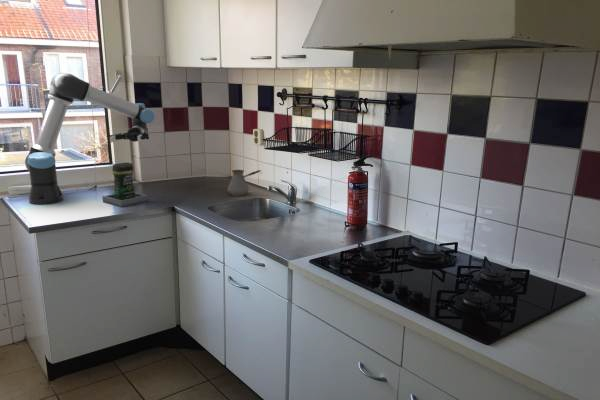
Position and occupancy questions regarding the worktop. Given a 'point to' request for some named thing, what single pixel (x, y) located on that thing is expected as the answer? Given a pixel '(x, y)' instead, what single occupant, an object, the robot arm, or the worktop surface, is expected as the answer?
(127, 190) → the coffee jar
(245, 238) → the worktop surface
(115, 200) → the grey shallow rectangular tray
